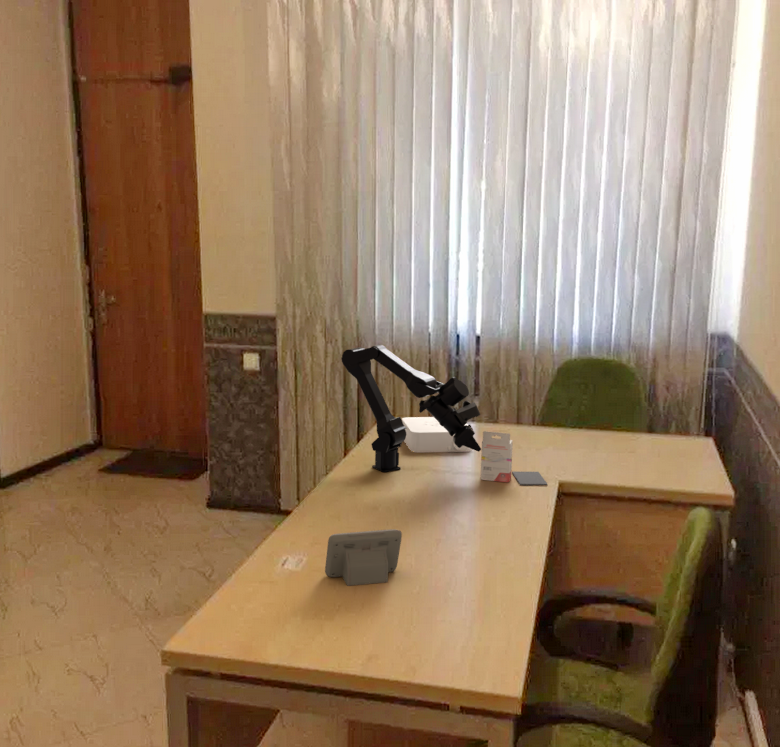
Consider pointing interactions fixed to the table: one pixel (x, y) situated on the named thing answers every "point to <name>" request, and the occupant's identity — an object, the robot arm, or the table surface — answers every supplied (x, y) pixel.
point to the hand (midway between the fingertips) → (480, 450)
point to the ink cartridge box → (496, 457)
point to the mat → (529, 478)
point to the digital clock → (363, 556)
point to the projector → (429, 436)
